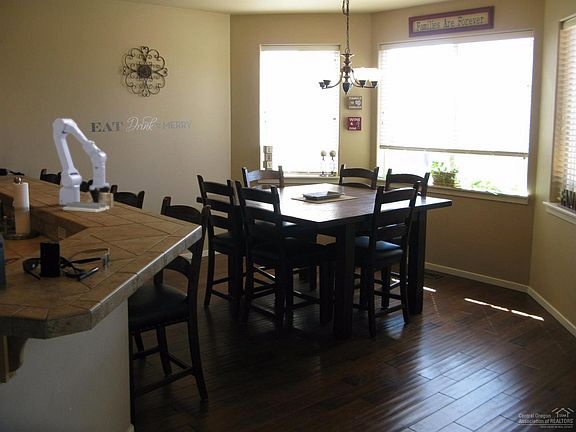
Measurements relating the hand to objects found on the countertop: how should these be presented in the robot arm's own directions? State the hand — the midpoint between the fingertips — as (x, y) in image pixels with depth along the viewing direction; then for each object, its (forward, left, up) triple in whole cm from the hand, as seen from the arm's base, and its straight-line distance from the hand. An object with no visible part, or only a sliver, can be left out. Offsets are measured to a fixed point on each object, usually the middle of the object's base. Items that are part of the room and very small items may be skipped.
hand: (99, 202), depth 305 cm
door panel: (0, 0, -2) cm, 2 cm away
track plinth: (0, -12, -2) cm, 12 cm away
